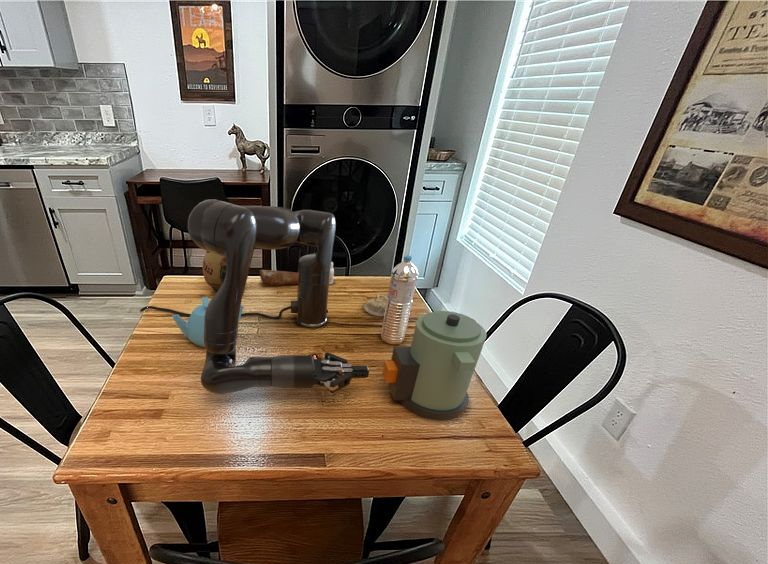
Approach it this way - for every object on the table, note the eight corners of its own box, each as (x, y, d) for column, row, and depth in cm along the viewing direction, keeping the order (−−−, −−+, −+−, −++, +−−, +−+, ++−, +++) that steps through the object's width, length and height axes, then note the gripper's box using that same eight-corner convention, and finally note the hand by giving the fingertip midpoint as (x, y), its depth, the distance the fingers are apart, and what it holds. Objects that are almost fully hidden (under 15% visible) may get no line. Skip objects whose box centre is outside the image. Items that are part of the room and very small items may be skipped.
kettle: (400, 428, 83) (421, 344, 71) (378, 367, 102) (391, 291, 89) (482, 428, 83) (517, 344, 71) (445, 367, 102) (468, 292, 90)
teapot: (248, 331, 116) (246, 299, 110) (219, 356, 105) (215, 321, 99) (206, 320, 121) (202, 288, 115) (175, 342, 110) (168, 308, 104)
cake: (398, 309, 130) (402, 295, 127) (385, 321, 123) (389, 306, 120) (371, 299, 134) (374, 285, 131) (358, 310, 128) (361, 295, 124)
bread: (259, 281, 146) (259, 267, 143) (309, 280, 148) (310, 266, 145) (260, 288, 141) (259, 274, 138) (311, 287, 143) (312, 272, 139)
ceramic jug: (243, 280, 147) (239, 197, 130) (252, 297, 135) (248, 208, 118) (198, 284, 143) (187, 199, 126) (203, 302, 131) (191, 211, 114)
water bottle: (404, 346, 110) (422, 262, 95) (380, 344, 111) (394, 260, 97) (403, 334, 115) (420, 253, 101) (380, 332, 116) (394, 251, 102)
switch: (385, 382, 87) (388, 370, 85) (382, 373, 90) (384, 360, 88) (396, 382, 87) (399, 370, 85) (392, 373, 90) (395, 360, 88)
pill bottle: (334, 281, 148) (335, 261, 143) (331, 285, 144) (333, 265, 140) (323, 279, 149) (324, 260, 144) (320, 283, 145) (321, 264, 141)
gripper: (293, 376, 79) (376, 376, 80) (291, 342, 90) (364, 342, 91) (292, 403, 84) (371, 403, 84) (290, 368, 94) (361, 367, 95)
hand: (368, 371), depth 87 cm, fingers closed
